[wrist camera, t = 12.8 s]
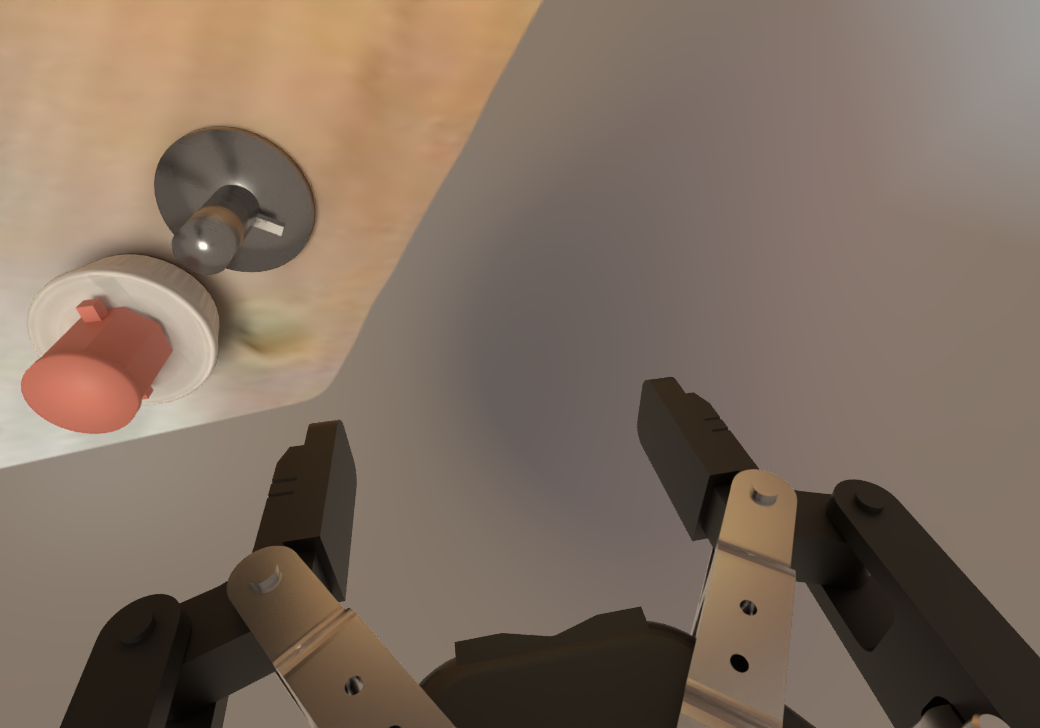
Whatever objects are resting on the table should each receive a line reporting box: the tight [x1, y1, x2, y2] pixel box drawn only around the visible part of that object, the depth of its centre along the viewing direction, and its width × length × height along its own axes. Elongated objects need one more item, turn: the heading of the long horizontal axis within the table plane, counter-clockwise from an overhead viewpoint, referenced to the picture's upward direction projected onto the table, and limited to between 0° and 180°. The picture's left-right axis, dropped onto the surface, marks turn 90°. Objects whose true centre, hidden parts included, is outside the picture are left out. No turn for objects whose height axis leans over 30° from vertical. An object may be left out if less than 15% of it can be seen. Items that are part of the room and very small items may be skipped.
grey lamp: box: [154, 127, 315, 275], centre depth 34 cm, size 10×10×9 cm
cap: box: [21, 298, 173, 434], centre depth 34 cm, size 8×6×6 cm
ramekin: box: [27, 254, 220, 405], centre depth 39 cm, size 11×11×5 cm
